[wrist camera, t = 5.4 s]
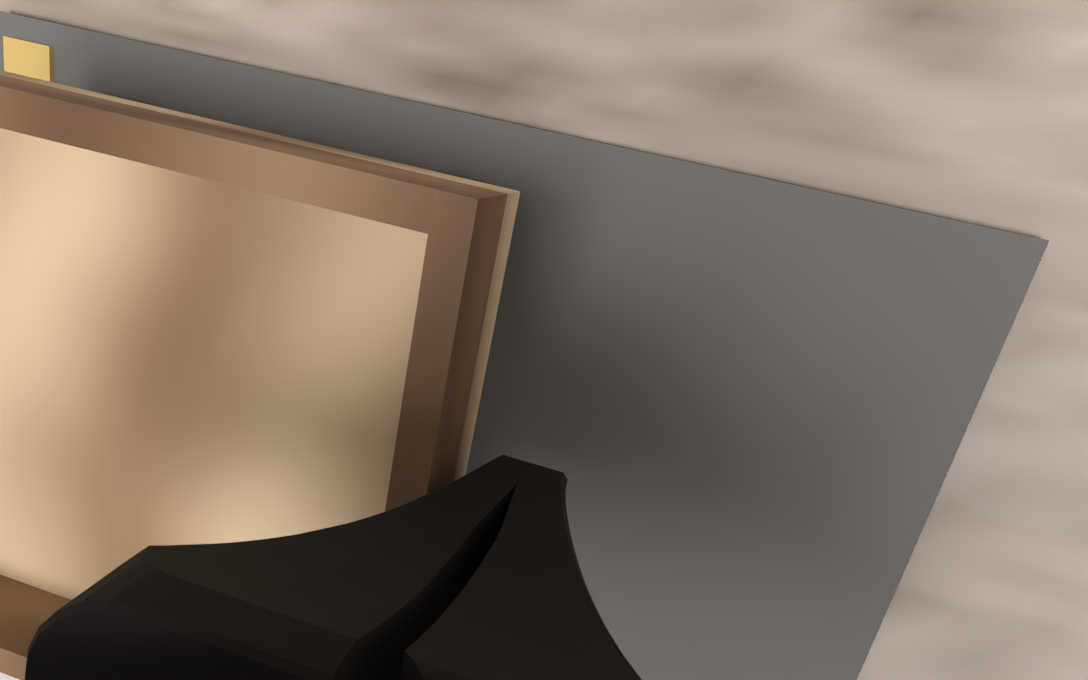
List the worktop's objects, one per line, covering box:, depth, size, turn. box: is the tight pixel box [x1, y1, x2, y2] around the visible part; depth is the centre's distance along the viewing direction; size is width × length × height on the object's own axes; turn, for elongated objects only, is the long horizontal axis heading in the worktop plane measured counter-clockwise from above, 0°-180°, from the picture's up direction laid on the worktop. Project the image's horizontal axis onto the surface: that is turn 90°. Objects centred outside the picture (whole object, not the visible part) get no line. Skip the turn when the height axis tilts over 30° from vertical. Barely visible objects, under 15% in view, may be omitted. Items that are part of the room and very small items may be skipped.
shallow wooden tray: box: [0, 70, 520, 680], centre depth 13 cm, size 11×11×5 cm
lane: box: [0, 11, 1049, 680], centre depth 15 cm, size 22×13×1 cm, turn 78°
